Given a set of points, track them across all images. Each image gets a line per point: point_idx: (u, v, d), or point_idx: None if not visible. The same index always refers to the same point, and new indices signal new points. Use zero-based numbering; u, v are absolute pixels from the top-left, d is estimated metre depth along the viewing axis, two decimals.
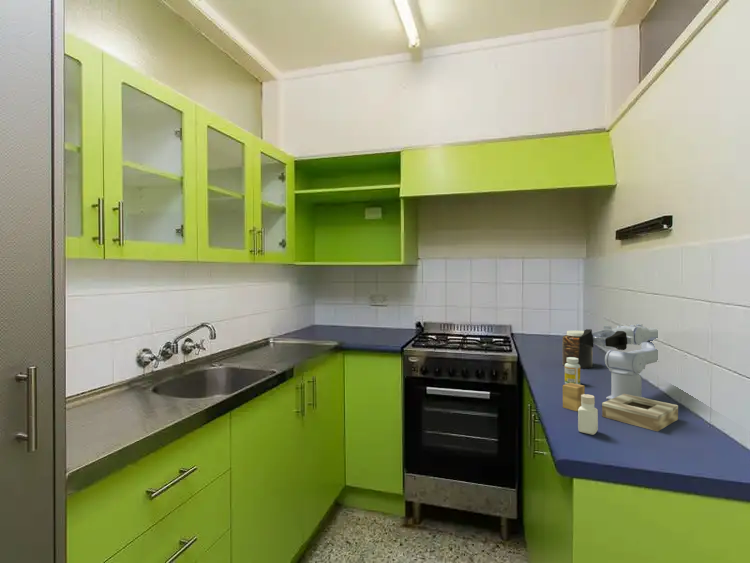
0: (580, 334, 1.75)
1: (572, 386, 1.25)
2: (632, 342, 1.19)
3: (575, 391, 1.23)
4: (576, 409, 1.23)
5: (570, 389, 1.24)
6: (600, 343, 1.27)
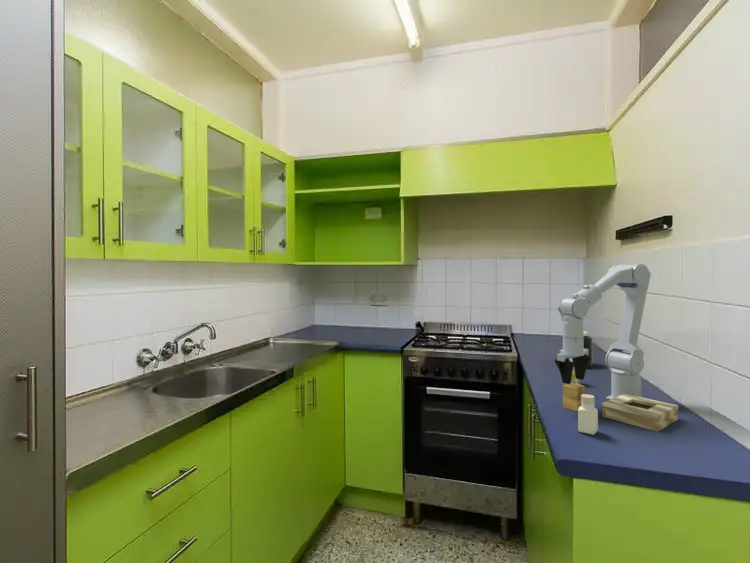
0: None
1: (572, 386, 1.25)
2: (561, 358, 1.21)
3: (575, 391, 1.23)
4: (576, 409, 1.23)
5: (570, 389, 1.24)
6: None
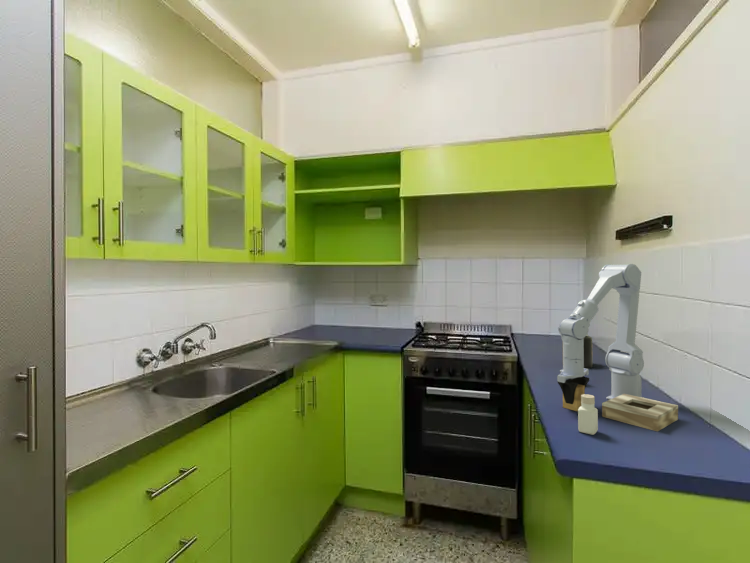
0: None
1: None
2: (562, 379, 1.21)
3: (575, 391, 1.23)
4: (576, 409, 1.23)
5: None
6: None
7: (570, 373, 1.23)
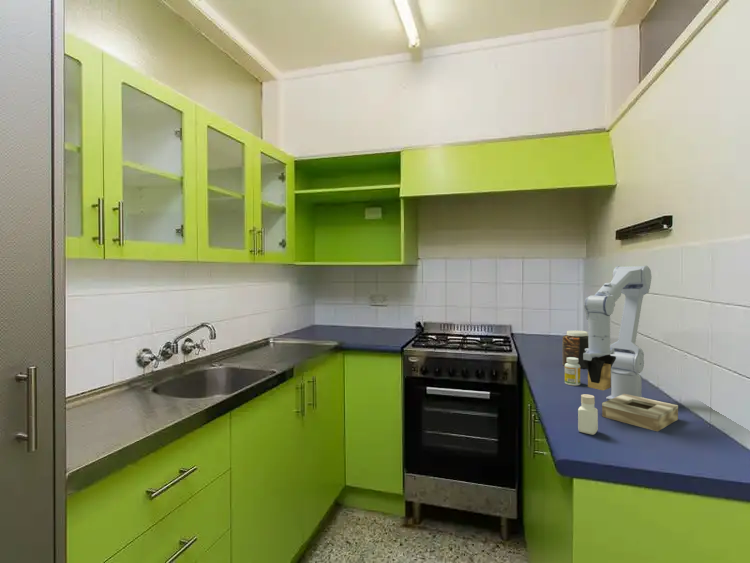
0: (580, 334, 1.75)
1: None
2: (588, 357, 1.17)
3: (602, 369, 1.19)
4: (602, 388, 1.19)
5: None
6: None
7: (596, 351, 1.19)
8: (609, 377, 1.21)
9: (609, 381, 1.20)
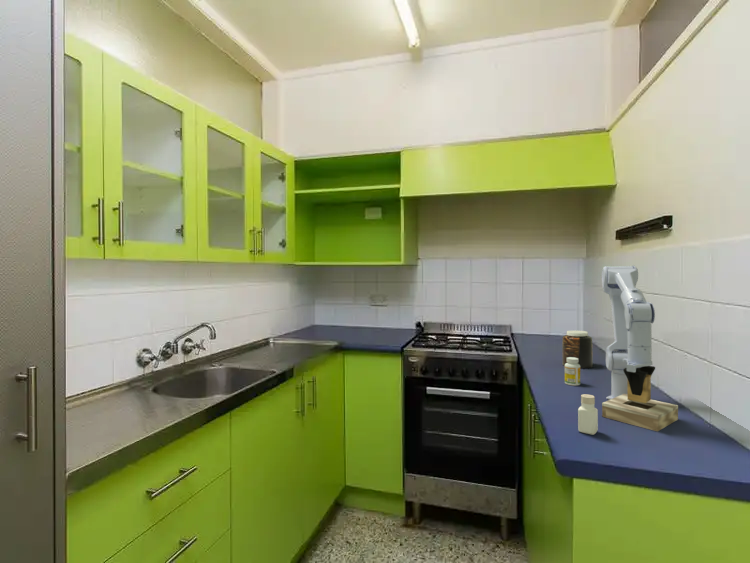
0: (580, 334, 1.75)
1: None
2: (632, 369, 1.11)
3: (644, 381, 1.13)
4: (645, 401, 1.13)
5: None
6: None
7: (638, 362, 1.13)
8: (649, 389, 1.15)
9: (649, 392, 1.15)
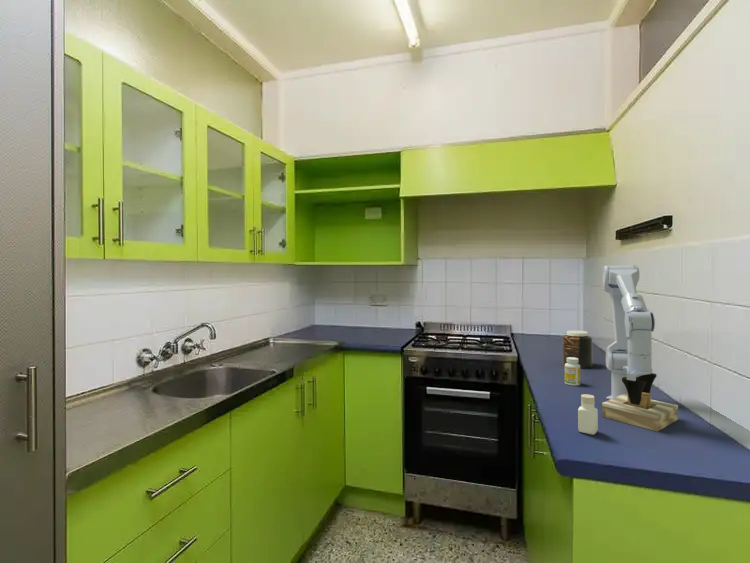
0: (580, 334, 1.75)
1: None
2: (632, 377, 1.11)
3: (644, 400, 1.13)
4: None
5: None
6: None
7: (638, 370, 1.13)
8: (649, 407, 1.15)
9: None
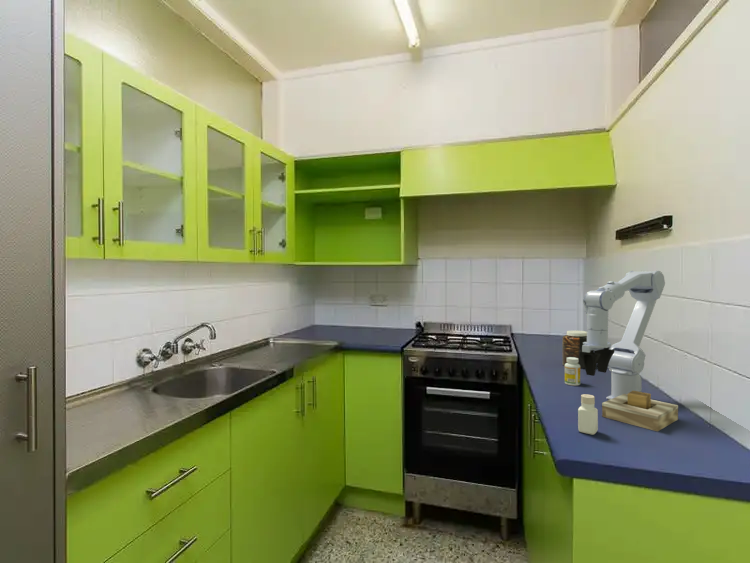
0: (580, 334, 1.75)
1: (639, 395, 1.15)
2: (587, 349, 1.21)
3: (644, 400, 1.13)
4: None
5: (637, 398, 1.14)
6: None
7: (594, 344, 1.23)
8: (649, 407, 1.15)
9: None
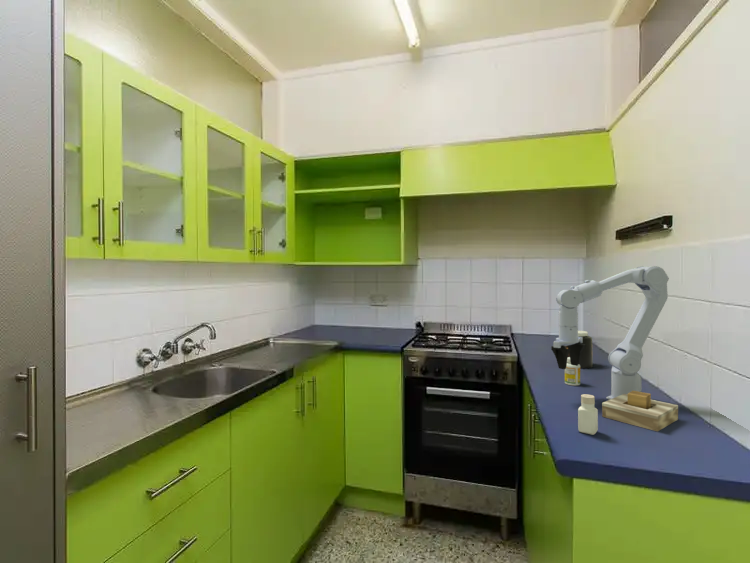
0: (580, 334, 1.75)
1: (639, 395, 1.15)
2: (557, 345, 1.30)
3: (644, 400, 1.13)
4: None
5: (637, 398, 1.14)
6: None
7: (565, 340, 1.33)
8: (649, 407, 1.15)
9: None
